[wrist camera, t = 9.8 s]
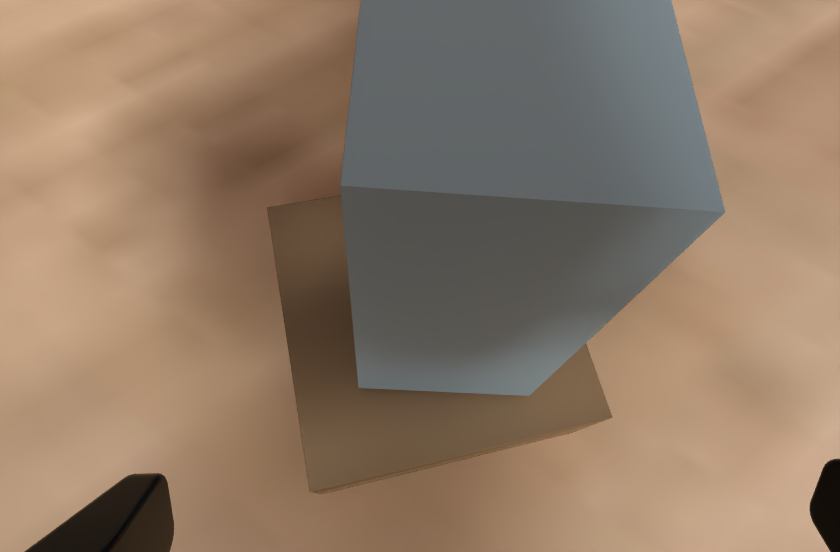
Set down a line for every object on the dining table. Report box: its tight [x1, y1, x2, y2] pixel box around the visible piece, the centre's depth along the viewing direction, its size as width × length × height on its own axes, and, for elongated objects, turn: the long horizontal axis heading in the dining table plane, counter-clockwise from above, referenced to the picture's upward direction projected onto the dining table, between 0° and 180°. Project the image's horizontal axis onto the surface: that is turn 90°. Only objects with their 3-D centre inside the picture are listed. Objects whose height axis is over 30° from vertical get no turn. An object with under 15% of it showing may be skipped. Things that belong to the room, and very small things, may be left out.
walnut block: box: [267, 196, 612, 494], centre depth 19 cm, size 9×9×4 cm
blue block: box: [340, 0, 725, 396], centre depth 13 cm, size 5×5×10 cm
